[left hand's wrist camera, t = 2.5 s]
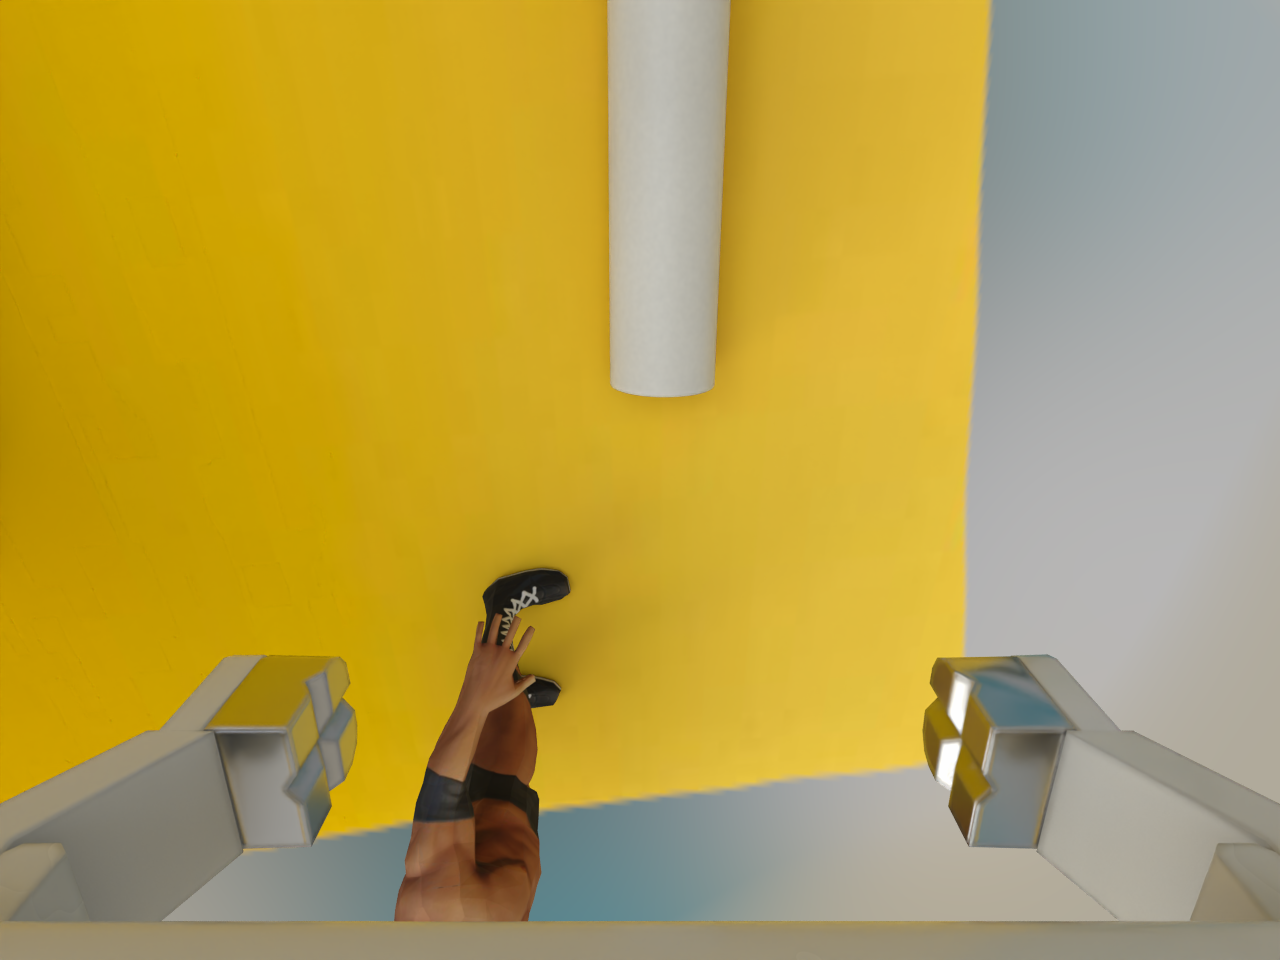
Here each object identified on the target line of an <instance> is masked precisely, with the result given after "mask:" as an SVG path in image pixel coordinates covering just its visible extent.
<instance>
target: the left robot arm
mask: <svg viewBox="0 0 1280 960" xmlns="http://www.w3.org/2000/svg"><path fill="white" fill-rule="evenodd" d="M349 685H350V679H349V674H348V669H347V665H346V662H345V661H344V660H343V659H342V658H341V657H330V656H283V655H269V656H266V655H233V656H229V657H226V658H224V659H223V660H222V661H221V662H220V663H219V664H218V665H217V666H216V668H215V669H214V670H213V671H212V672H211V673H210V674H209V675H208V676H207V678H206V679H205V680H204V681H203V682H202V683H201V684H200V685H199V687H198V688H197V689H196V690H195V691H194V692H193V693H192V694H191V696H190V697H189V698H188V699H187V700H186V701H185V702H184V703H183V704H182V706H181V707H180V708H179V709H178V710H177V711H176V712H175V713H174V715H173V716H172V717H171V718H170V719H169V720H168V721H167V722H166V724H165V725H164V726H163V727H162V728H161V729H160V730H159V731H146V732H144V733H142V734H140V735H138V736H136V737H134V738H132V739H130V740H128V741H125V742H123V743H121V744H119V745H117V746H115V747H113V748H111V749H109V750H107V751H105V752H103V753H101V754H99V755H97V756H95V757H93V758H91V759H89V760H87V761H85V762H83V763H81V764H79V765H77V766H75V767H73V768H71V769H69V770H67V771H65V772H63V773H61V774H59V775H57V776H55V777H53V778H51V779H49V780H47V781H45V782H43V783H41V784H39V785H37V786H35V787H33V788H31V789H29V790H27V791H25V792H23V793H21V794H19V795H17V796H15V797H13V798H11V799H9V800H7V801H5V802H3V803H1V804H0V960H1280V804H1279V803H1277V802H1275V801H1273V800H1271V799H1269V798H1267V797H1265V796H1263V795H1261V794H1259V793H1257V792H1255V791H1253V790H1251V789H1249V788H1247V787H1245V786H1243V785H1241V784H1239V783H1237V782H1235V781H1233V780H1231V779H1229V778H1227V777H1225V776H1223V775H1221V774H1219V773H1217V772H1215V771H1213V770H1211V769H1209V768H1207V767H1205V766H1203V765H1200V764H1199V763H1197V762H1195V761H1193V760H1191V759H1189V758H1187V757H1185V756H1182V755H1181V754H1178V753H1176V752H1175V751H1173V750H1170V749H1169V748H1166V747H1164V746H1162V745H1160V744H1158V743H1156V742H1154V741H1152V740H1150V739H1148V738H1146V737H1144V736H1142V735H1140V734H1138V733H1136V732H1134V731H1121V730H1120V729H1119V728H1118V727H1117V726H1116V725H1115V724H1114V722H1113V721H1112V720H1111V719H1110V718H1109V717H1108V716H1107V715H1106V714H1105V712H1104V711H1103V710H1102V709H1101V708H1100V707H1099V706H1098V704H1097V703H1096V702H1095V701H1094V700H1093V699H1092V698H1091V697H1090V696H1089V694H1088V693H1087V692H1086V691H1085V690H1084V689H1083V688H1082V687H1081V685H1080V684H1079V683H1078V682H1077V681H1076V680H1075V679H1074V678H1073V676H1072V675H1071V674H1070V673H1069V672H1068V671H1067V670H1066V669H1065V667H1064V666H1063V665H1062V664H1061V663H1060V662H1059V661H1058V660H1057V659H1056V658H1054V657H1052V656H1050V655H1020V656H1010V657H950V658H937V659H936V661H935V664H934V666H933V668H932V673H931V679H930V685H931V686H932V688H933V690H934V692H935V693H936V695H937V697H938V698H937V699H936V700H935V701H934V702H933V703H932V704H931V705H930V706H929V707H928V708H927V709H926V710H925V716H924V724H923V741H924V751H925V755H926V758H927V762H928V765H929V768H930V770H931V772H932V774H933V776H934V778H935V780H936V781H937V782H939V783H940V784H941V785H943V786H944V787H945V788H947V789H948V790H950V791H951V794H950V800H949V805H948V806H949V809H950V810H951V813H952V814H953V816H954V818H955V820H956V822H957V824H958V826H959V828H960V830H961V832H962V834H963V836H964V838H965V840H966V842H967V844H968V846H969V847H996V848H1032V849H1037V853H1039V854H1040V855H1041V856H1042V857H1043V858H1044V859H1046V860H1047V861H1048V862H1049V863H1051V864H1052V865H1053V866H1054V867H1055V868H1056V869H1058V870H1059V871H1060V872H1061V873H1062V874H1064V875H1065V876H1066V877H1067V878H1068V879H1070V880H1071V881H1072V882H1073V883H1074V884H1076V885H1077V886H1078V887H1079V888H1080V889H1082V890H1083V891H1084V892H1085V893H1086V894H1087V895H1089V896H1090V897H1091V898H1092V899H1093V900H1095V901H1096V902H1097V903H1098V904H1099V905H1101V906H1102V907H1103V908H1104V909H1105V910H1107V911H1108V912H1109V913H1110V914H1111V915H1113V916H1114V917H1115V918H1116V919H1117V920H1118V921H565V922H563V921H557V922H555V921H535V922H534V921H162V920H163V919H164V918H165V917H167V916H168V915H169V914H170V913H171V912H173V911H174V910H175V909H176V908H177V907H178V906H180V905H181V904H182V903H183V902H184V901H186V900H187V899H188V898H189V897H190V896H192V895H193V894H194V893H195V892H196V891H198V890H199V889H200V888H201V887H202V886H204V885H205V884H206V883H207V882H208V881H210V880H211V879H212V878H213V877H214V876H216V875H217V874H218V873H219V872H220V871H222V870H223V869H224V868H225V867H226V866H228V865H229V864H230V863H231V862H232V861H234V860H235V859H236V858H237V857H238V856H239V855H241V854H242V853H243V849H248V848H283V847H311V846H312V844H313V842H314V840H315V838H316V836H317V834H318V832H319V830H320V828H321V826H322V824H323V822H324V820H325V819H326V817H327V815H328V813H329V811H330V809H331V807H332V805H331V799H330V794H329V791H330V790H332V789H333V788H335V787H336V786H337V785H339V784H340V783H342V782H343V781H344V780H345V778H346V776H347V774H348V772H349V770H350V768H351V766H352V763H353V758H354V754H355V749H356V744H357V722H356V715H355V710H354V709H353V708H352V707H351V706H350V705H349V704H348V703H347V702H346V701H345V700H344V699H343V698H342V697H343V695H344V693H345V692H346V690H347V688H348V686H349Z"/></svg>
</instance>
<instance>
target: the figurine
mask: <svg viewBox="0 0 1280 960" xmlns="http://www.w3.org/2000/svg"><path fill="white" fill-rule="evenodd" d="M569 593H570V586H569V582H568V577H567V576H566V575H564V574H563V573H561V572H560V571H558V570H552V569H545V568H539V569H532V570H526V571H523V572H519V573H515V574H512V575H508V576H505V577H501V578H498V579H497V580H496V581H495V582H494V583H493V584H491V585H490V586H489V587H488V588H487V589H486V590H485V592H484V594H483V600H484V603H485V608H486V613H487V617H486V626H485V631H484V634H483V638H482V632H483V626H484V622H478V626H477V630H476V638H475V643H474V651H473V654H472V657H471V659H470V662H469V664H468V668H467V672H466V676H465V680H464V683H463V686H462V689H461V692H460V695H459V698H458V701H457V704H456V707H455V709H454V711H453V713H452V714H451V716H450V718H449V720H448V722H447V724H446V725H445V727H444V729H443V731H442V733H441V735H440V737H439V739H438V741H437V743H436V746H435V749H434V751H433V753H432V755H431V756H430V758H429V761H428V765H427V768H426V772H425V776H424V781H423V785H422V787H421V790H420V793H419V796H418V799H417V802H416V807H415V813H414V819H413V827H412V835H411V840H410V844H409V847H408V851H407V855H406V858H405V867H406V875H405V877H404V879H403V882H402V884H401V887H400V889H399V893H398V898H397V903H396V909H395V919H394V921H528V918H529V912H530V909H531V906H532V903H533V900H534V896H535V892H536V887H537V884H538V881H539V878H540V875H541V866H540V857H539V837H538V831H537V830H538V816H539V798H538V795H537V792H536V791H534V790H533V789H531V788H530V787H529V782H530V780H531V778H532V776H533V773H534V771H535V764H536V756H537V738H536V728H535V724H534V719H533V715H532V711H531V708H536V707H543V706H551V705H554V703H555V702H556V700H557V698H558V695H559V693H560V691H561V688H560V687H559V685H558V684H557V683H556V682H555V681H552V680H549V679H545V678H541V677H534V675H532V674H529V675H527V676H523V675H521V673H520V671H519V667H518V664H517V663H518V661H519V659H520V657H521V656H522V654H523V653H524V651H525V650H526V648H527V646H528V644H529V642H530V640H531V638H532V636H533V633H534V631H535V629H534V628H533V627H532V626H530V627H528V629H527V630H526V632H525V633H524V635H523V637H522V639H521V641H520V643H519V645H518V647H517V649H516V650H515V652H514V647H513V638H514V635H515V633H516V631H517V628H518V626H519V624H520V621H521V619H520V618H519V617H517V616H514V615H516V614H517V613H518V612H519V611H520V610H521V609H522V608H525V607H529V606H532V605H543V604H546V603H549V602H553V601H556V600H560V599H562V598H563V597H565V596H566V595H568V594H569ZM513 617H514V618H513Z"/></svg>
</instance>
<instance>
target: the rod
mask: <svg viewBox="0 0 1280 960" xmlns="http://www.w3.org/2000/svg"><path fill="white" fill-rule="evenodd" d="M607 2H608V136H609V271H610V384H611V386H612V387H613V388H614V389H616V390H618V391H621V392H624V393H628V394H633V395H640V396H649V397H681V396H690V395H696V394H700V393H704V392H707V391H709V390H711V389H712V388H713V387H714V383H715V359H716V335H717V311H718V288H719V264H720V240H721V217H722V193H723V169H724V146H725V122H726V98H727V75H728V51H729V27H730V4H731V0H607Z"/></svg>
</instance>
